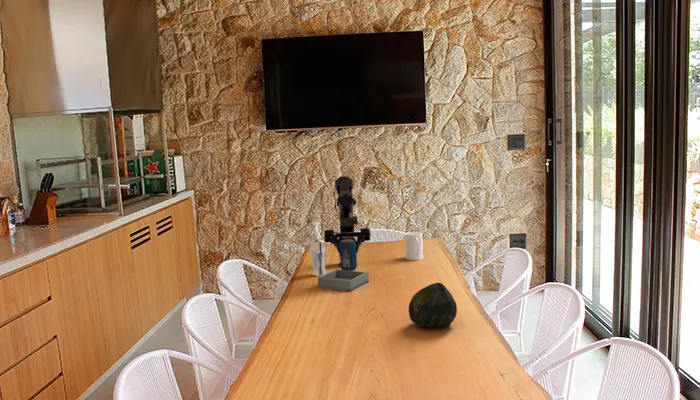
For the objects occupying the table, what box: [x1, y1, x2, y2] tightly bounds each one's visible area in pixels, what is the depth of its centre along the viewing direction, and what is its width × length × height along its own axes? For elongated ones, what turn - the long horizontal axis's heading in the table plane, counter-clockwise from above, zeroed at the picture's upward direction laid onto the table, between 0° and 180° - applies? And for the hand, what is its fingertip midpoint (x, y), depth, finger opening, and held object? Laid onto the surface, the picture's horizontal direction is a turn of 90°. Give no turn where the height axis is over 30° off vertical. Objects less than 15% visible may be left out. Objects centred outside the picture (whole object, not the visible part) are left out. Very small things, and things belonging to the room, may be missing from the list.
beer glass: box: [309, 238, 327, 277], centre depth 266 cm, size 7×7×15 cm
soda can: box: [338, 239, 358, 271], centre depth 248 cm, size 7×7×12 cm
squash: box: [408, 282, 458, 329], centre depth 197 cm, size 14×15×15 cm
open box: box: [317, 268, 370, 292], centre depth 250 cm, size 15×15×4 cm
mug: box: [404, 231, 424, 261], centre depth 288 cm, size 12×8×12 cm
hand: (348, 252), depth 247 cm, fingers closed on soda can, 7 cm apart
